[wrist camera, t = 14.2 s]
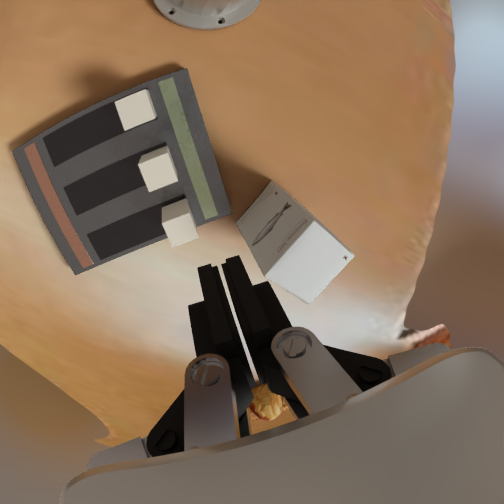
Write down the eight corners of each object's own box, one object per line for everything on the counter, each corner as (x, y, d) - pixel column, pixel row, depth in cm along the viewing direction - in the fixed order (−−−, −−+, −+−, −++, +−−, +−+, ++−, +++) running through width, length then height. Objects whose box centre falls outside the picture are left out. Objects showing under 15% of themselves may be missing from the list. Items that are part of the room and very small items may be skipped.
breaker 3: (161, 207, 33) (161, 223, 29) (186, 198, 33) (189, 212, 30) (171, 229, 35) (172, 247, 31) (194, 220, 35) (199, 237, 31)
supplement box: (271, 178, 37) (316, 217, 26) (308, 210, 41) (358, 256, 30) (233, 222, 39) (262, 277, 28) (272, 250, 42) (310, 307, 32)
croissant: (304, 357, 63) (317, 371, 55) (315, 392, 64) (327, 408, 56) (213, 390, 60) (215, 409, 52) (229, 424, 61) (232, 444, 53)
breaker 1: (121, 101, 26) (114, 102, 22) (148, 90, 26) (145, 89, 23) (130, 126, 28) (124, 130, 24) (156, 115, 28) (155, 118, 24)
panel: (17, 149, 26) (12, 151, 24) (186, 69, 28) (187, 67, 26) (77, 269, 35) (75, 275, 34) (229, 209, 38) (232, 213, 36)
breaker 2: (141, 155, 30) (137, 164, 26) (167, 145, 30) (167, 152, 26) (151, 179, 31) (149, 192, 27) (176, 170, 31) (178, 181, 28)
